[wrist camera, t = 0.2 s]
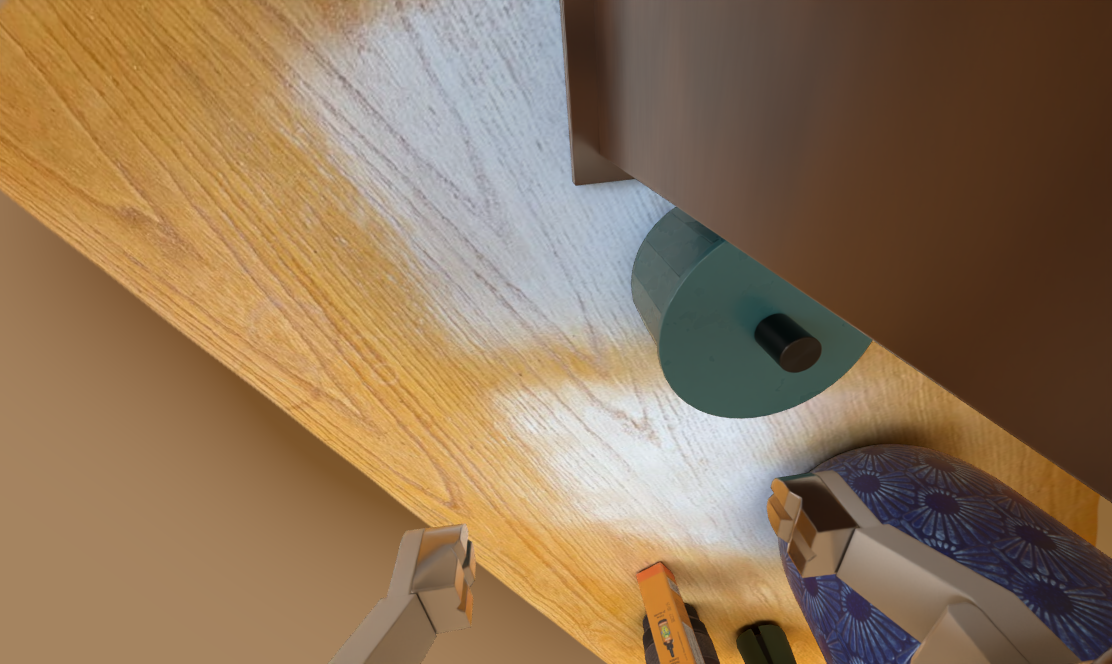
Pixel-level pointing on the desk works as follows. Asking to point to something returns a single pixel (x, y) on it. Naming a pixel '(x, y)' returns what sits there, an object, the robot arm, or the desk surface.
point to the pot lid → (749, 338)
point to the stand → (889, 176)
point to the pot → (666, 262)
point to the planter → (957, 554)
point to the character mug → (765, 646)
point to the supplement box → (668, 617)
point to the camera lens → (700, 634)
